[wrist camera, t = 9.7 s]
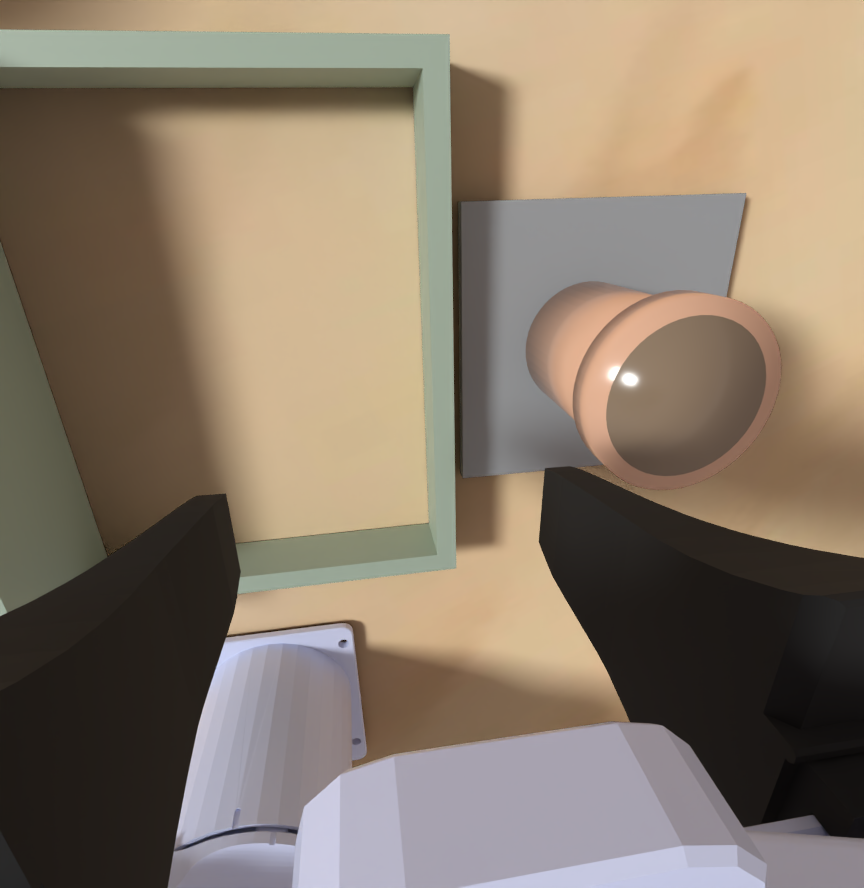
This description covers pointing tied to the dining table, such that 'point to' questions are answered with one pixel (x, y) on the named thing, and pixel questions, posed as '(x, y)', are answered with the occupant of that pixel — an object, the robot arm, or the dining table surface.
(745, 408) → the terracotta pot
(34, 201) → the dining table surface
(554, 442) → the slate mat
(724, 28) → the dining table surface
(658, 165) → the dining table surface
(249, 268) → the dining table surface
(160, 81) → the frame
